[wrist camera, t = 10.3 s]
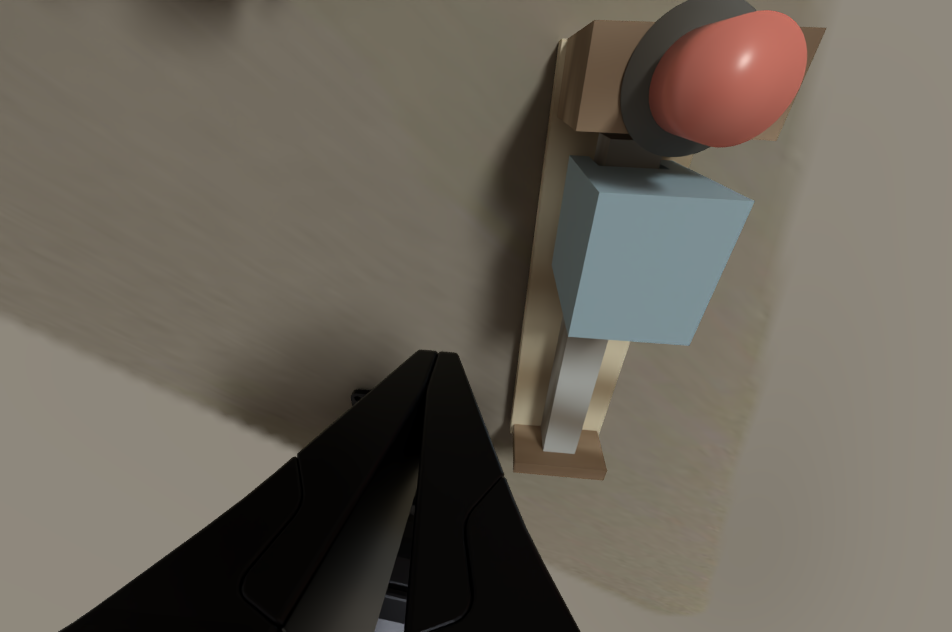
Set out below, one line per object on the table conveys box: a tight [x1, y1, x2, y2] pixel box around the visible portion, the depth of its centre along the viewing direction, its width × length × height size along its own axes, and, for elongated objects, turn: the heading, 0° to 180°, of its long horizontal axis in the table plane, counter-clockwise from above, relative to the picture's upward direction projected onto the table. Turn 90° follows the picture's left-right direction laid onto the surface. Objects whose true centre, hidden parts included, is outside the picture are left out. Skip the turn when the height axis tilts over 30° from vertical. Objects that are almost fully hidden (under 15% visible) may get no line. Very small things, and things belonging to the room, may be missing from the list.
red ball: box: [649, 10, 807, 147], centre depth 8 cm, size 2×2×2 cm
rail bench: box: [510, 0, 826, 480], centre depth 17 cm, size 23×6×6 cm, turn 178°
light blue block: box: [552, 155, 755, 346], centre depth 14 cm, size 5×4×6 cm
